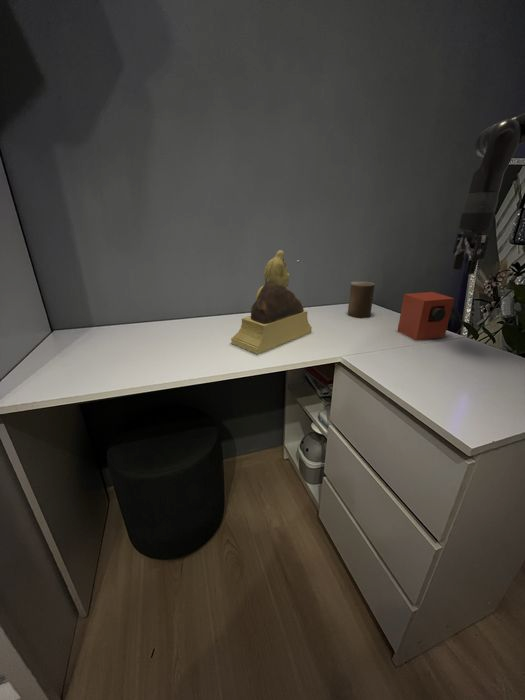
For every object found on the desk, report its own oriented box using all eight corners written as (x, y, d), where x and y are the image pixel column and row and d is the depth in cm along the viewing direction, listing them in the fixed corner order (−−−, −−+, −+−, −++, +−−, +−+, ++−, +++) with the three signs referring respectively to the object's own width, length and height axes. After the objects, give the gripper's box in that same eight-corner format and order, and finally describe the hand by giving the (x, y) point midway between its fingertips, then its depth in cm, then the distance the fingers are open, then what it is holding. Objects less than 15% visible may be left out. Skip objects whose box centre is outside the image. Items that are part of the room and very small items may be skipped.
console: (444, 336, 106) (454, 298, 101) (415, 340, 104) (424, 300, 98) (424, 327, 115) (432, 291, 109) (397, 330, 112) (404, 294, 107)
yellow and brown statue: (285, 324, 120) (287, 246, 108) (311, 332, 112) (316, 248, 100) (231, 343, 103) (226, 252, 90) (257, 354, 94) (255, 255, 82)
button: (443, 321, 101) (447, 308, 99) (432, 322, 100) (435, 309, 98) (439, 319, 103) (442, 307, 101) (428, 320, 102) (431, 308, 100)
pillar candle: (367, 319, 125) (372, 283, 119) (344, 315, 130) (348, 281, 124) (372, 313, 133) (377, 279, 127) (351, 310, 138) (354, 277, 131)
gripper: (508, 210, 75) (489, 276, 82) (480, 211, 88) (465, 267, 94) (475, 211, 76) (459, 275, 83) (452, 211, 89) (440, 267, 96)
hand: (462, 271), depth 89 cm, fingers open, 8 cm apart
